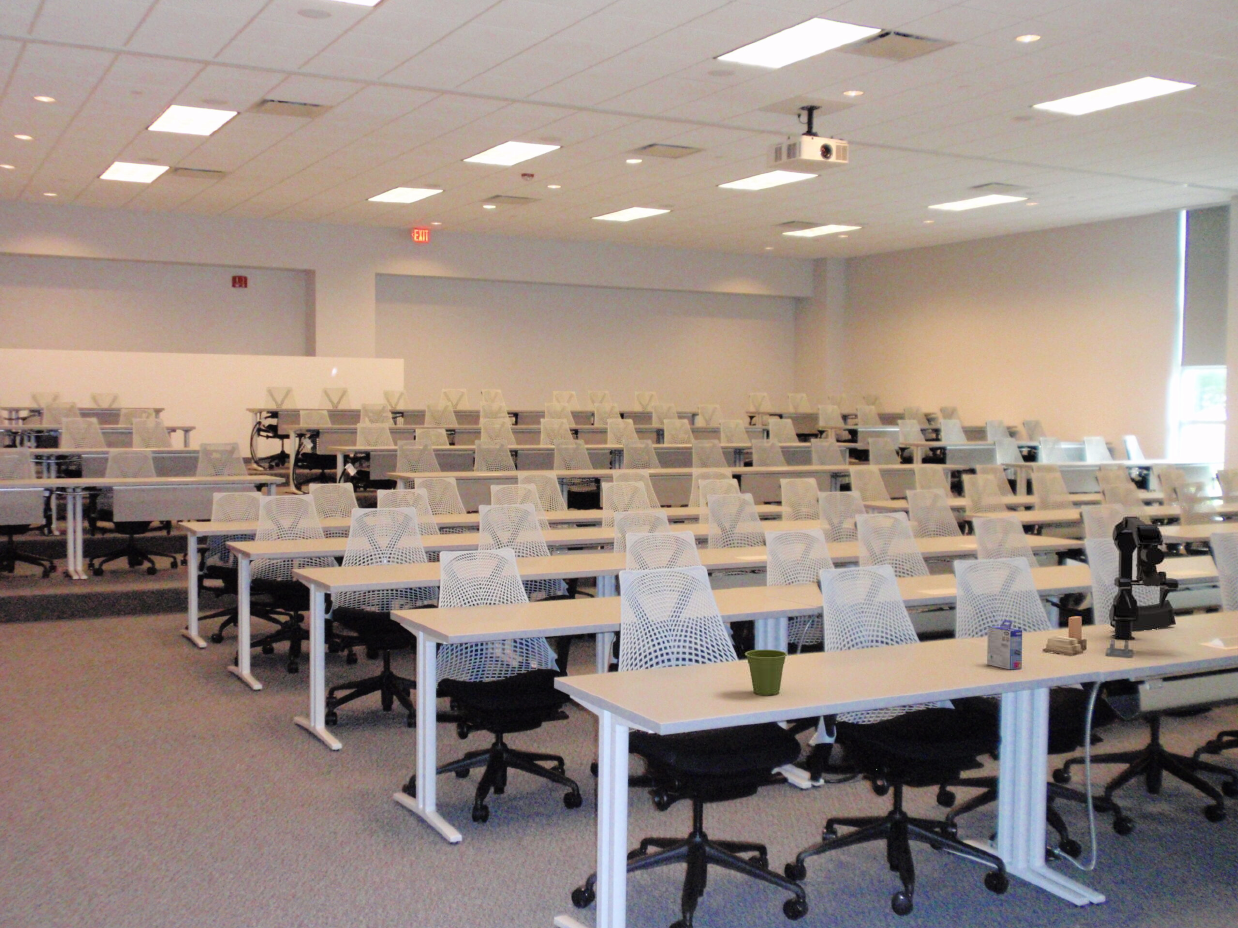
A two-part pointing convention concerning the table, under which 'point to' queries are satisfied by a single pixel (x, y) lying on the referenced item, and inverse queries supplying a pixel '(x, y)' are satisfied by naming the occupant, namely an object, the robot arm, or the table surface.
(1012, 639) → the ink cartridge box
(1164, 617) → the magazine
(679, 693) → the table surface
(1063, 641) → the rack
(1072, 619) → the tall peach slab
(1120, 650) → the holder
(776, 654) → the plant pot
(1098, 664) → the table surface
